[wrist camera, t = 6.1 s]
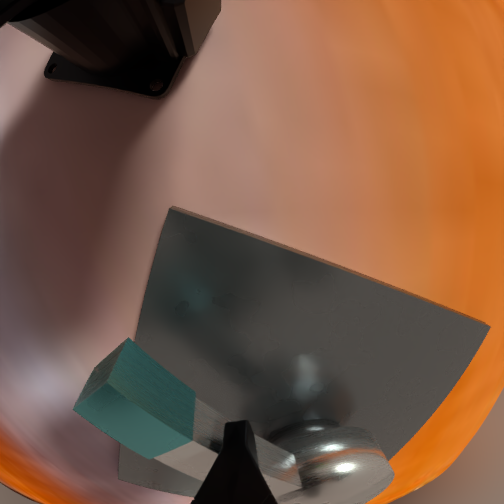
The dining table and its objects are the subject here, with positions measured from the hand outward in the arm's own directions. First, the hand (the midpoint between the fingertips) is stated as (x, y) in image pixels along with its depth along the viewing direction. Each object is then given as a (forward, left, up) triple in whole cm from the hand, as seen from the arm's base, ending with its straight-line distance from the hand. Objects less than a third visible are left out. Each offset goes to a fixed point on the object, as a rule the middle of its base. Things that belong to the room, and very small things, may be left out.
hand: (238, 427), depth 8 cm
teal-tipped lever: (+3, -3, -2) cm, 5 cm away
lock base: (+7, -6, -5) cm, 10 cm away
